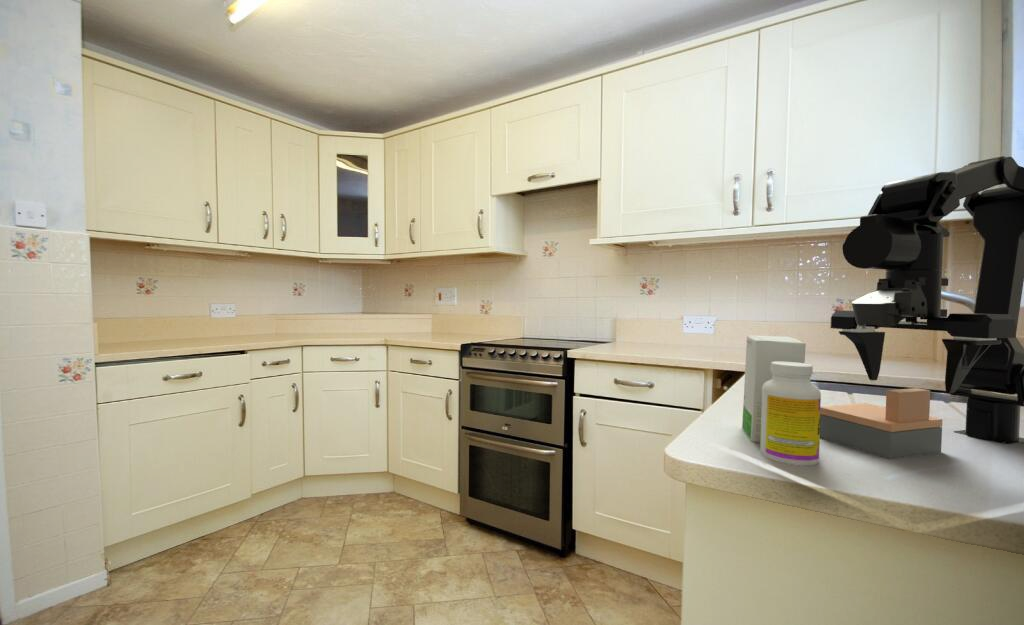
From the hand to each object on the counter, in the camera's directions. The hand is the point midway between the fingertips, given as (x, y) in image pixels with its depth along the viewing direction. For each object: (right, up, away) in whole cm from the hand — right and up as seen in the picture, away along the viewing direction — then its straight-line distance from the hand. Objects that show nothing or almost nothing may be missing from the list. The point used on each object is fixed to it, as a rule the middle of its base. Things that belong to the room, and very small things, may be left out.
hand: (909, 386), depth 62 cm
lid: (-1, -5, +4) cm, 7 cm away
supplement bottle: (-17, -10, -2) cm, 20 cm away
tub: (-1, -10, +4) cm, 10 cm away
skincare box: (-15, -10, +7) cm, 19 cm away
